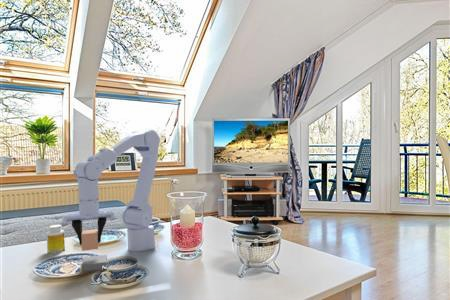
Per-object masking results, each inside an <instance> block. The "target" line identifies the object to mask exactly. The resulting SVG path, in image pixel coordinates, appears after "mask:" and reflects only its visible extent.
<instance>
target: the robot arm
mask: <svg viewBox="0 0 450 300" xmlns="http://www.w3.org/2000/svg"><path fill="white" fill-rule="evenodd" d="M160 143H161V139H160V136H159V134H158V133H157V132H156V131H155V130H153V129H150V130H139V131H138V130H134V131H132V132H131V133H128V134H127V136H125V137H124V138H123V139H121V140H120V141H119V142H117V143H116V144H114V145H113V146H112V147H111V148H110V147H102V148H99V150H98V152H96V153H95V154H94V155H91V156H88V157H87V159H86V160H82V161H81V160H80V161H79V162H78V163H77V164H76V166H75V167H74V168H75V169H74V170H73V175H74V177H75V178H76V179H77V185H78V189H77V190H78V207H79V208H78V213H72V214H71V213H70V214H64V215H63V216H62V222H63V224H64V223H65V224H66V223H71V226H72V228H73V230H74V231H75V235H76V236H77V238H78V241H79V246H82V237H81V234H82V232H83V221H91V220H97V229H98V243H99V244H100V243H101V242H102V240H101V239H102V233H103V230H104V227H105V225H106V223H107V219H115V210H108V211H106V210H104V211H103V210H100V199H99V195H100V193H99V178H101V176H102V174H103V172H104V171H105V170H107V169H108V168H109V167H111V166H112V165H114V164H115V163H116V162H117V159H118V157H119V156H120V155H123V154H124V153H125V152H127V151H128V150H130V149H132V148H134V149H135V150H136V152H137V153H139V155H140V156H141V157H142V160H141V164H140V168H139V172H138V176H137V180H136V185H135V189H134V193H133V197H132V199H131V200H130V201H129V202H128V203H127V204H126V207H125V209H124V210H123V213H122V218H121V219H122V221H123V223H124V224H125V227H126V229H127V230H126V231H127V250H128V251H129V252H140V251H141V252H142V251H146V250H153V249H154V250H155V247H156V246H155V245H156V241H155V228H154V225H150V224H151V223H152V220H153V206H152V205H151V203H150V202H149V200H150V197H151V196H150V195H151V190H152V185H153V181H154V177H155V172H156V168H157V164H158V159H159V146H160Z"/></svg>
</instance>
